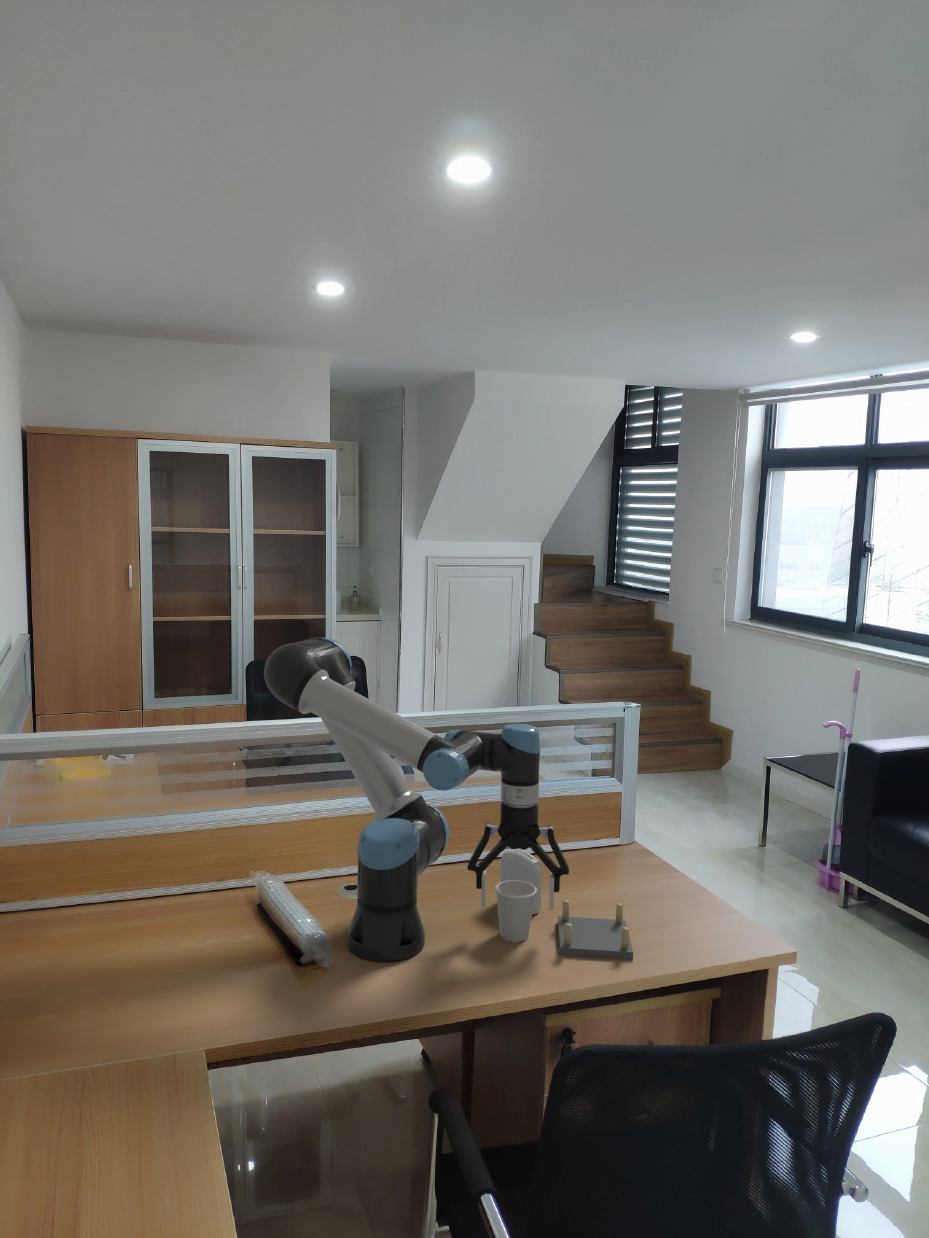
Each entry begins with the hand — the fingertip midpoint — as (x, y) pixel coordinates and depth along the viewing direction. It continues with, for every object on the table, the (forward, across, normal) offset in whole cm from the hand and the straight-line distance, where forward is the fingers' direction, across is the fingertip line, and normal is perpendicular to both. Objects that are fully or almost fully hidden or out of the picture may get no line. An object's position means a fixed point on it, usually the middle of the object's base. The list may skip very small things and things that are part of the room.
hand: (517, 905), depth 177 cm
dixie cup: (+7, 0, 0) cm, 7 cm away
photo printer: (+7, 0, +14) cm, 16 cm away
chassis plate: (+7, +16, 0) cm, 17 cm away
